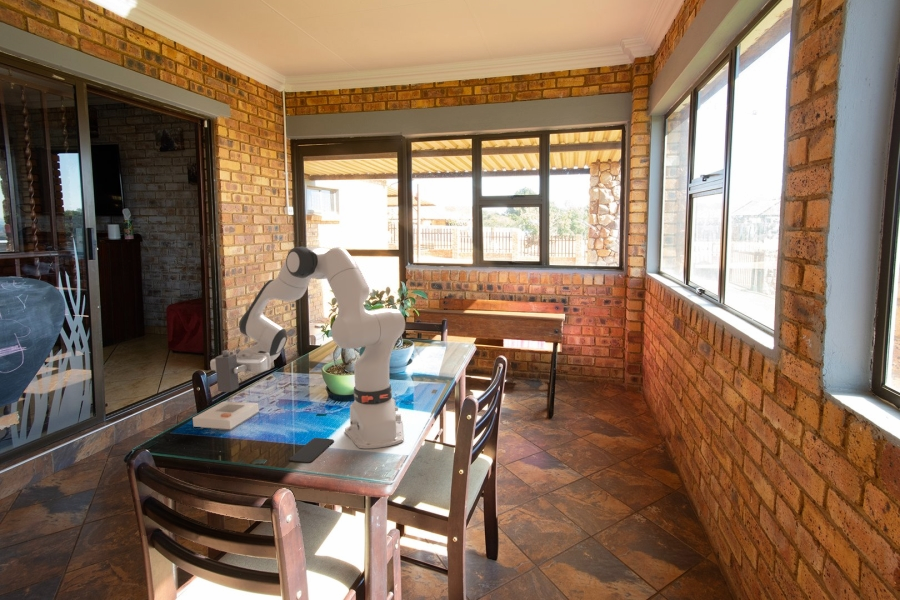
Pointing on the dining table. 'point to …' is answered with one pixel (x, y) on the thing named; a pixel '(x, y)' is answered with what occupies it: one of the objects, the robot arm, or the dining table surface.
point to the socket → (226, 415)
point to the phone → (311, 450)
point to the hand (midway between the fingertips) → (225, 370)
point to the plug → (226, 372)
